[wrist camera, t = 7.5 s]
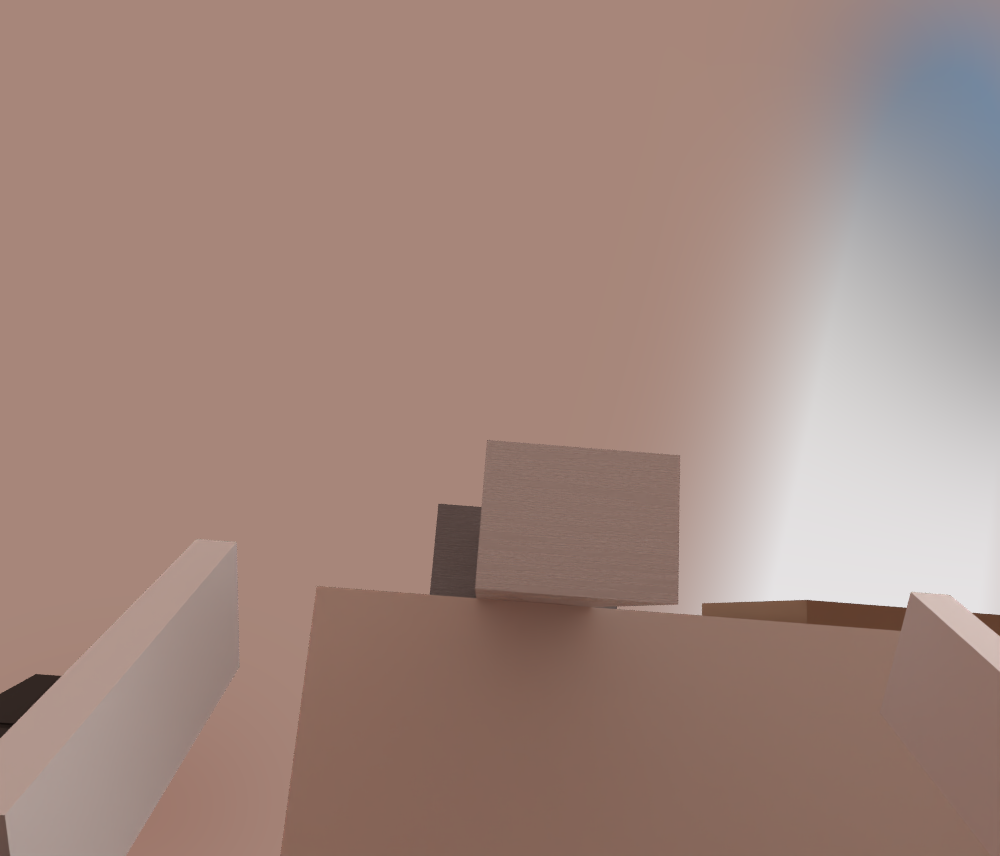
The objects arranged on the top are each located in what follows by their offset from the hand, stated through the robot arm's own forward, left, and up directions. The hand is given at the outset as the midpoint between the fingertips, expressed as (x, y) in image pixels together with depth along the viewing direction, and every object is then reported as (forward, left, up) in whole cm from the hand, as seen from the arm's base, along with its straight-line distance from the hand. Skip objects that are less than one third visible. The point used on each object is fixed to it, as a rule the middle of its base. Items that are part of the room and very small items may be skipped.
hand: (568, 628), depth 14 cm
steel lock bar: (+9, -6, +1) cm, 11 cm away
